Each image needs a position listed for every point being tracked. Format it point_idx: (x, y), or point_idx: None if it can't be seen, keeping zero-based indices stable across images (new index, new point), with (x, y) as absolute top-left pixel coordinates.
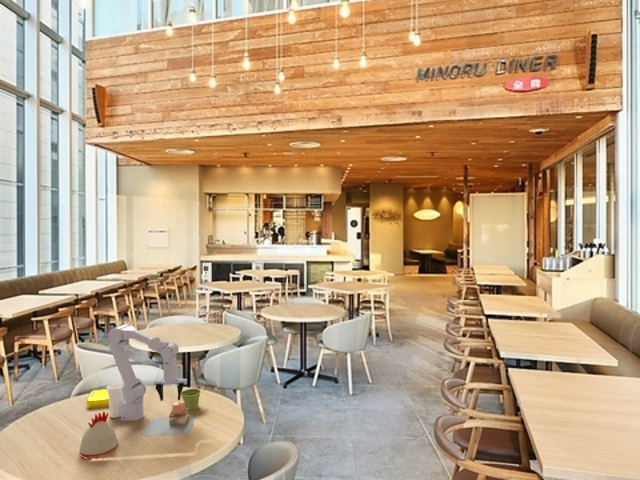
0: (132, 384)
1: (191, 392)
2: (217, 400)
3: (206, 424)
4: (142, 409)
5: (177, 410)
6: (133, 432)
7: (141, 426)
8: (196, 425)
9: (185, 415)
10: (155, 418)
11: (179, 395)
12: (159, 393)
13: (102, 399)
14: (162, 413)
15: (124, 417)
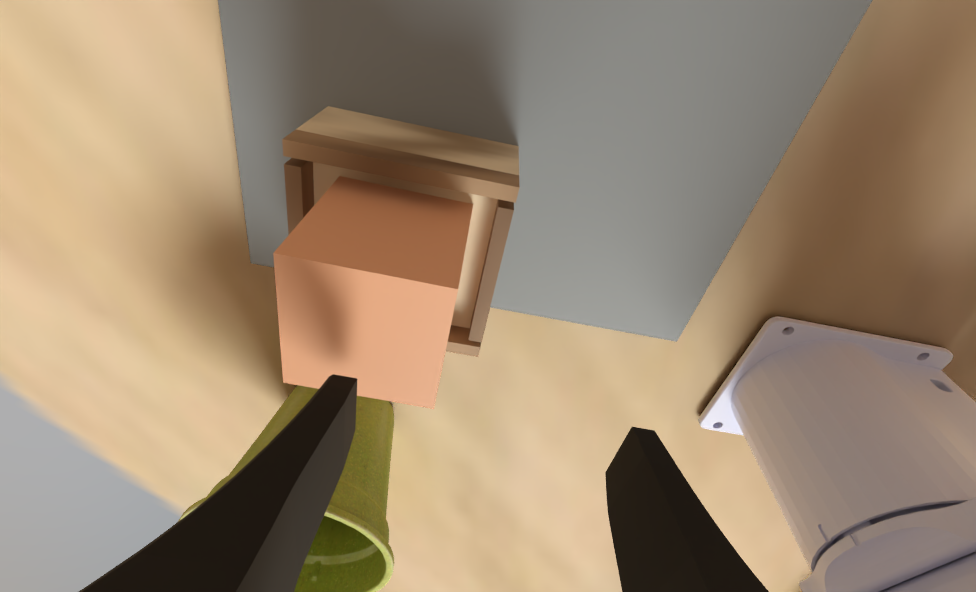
0: None
1: (313, 563)
2: (182, 475)
3: (79, 46)
4: (788, 436)
5: (389, 224)
6: (936, 101)
7: (798, 230)
8: (199, 57)
9: (294, 159)
10: (647, 322)
11: (280, 443)
12: (738, 579)
13: None
14: (570, 410)
15: (939, 389)
